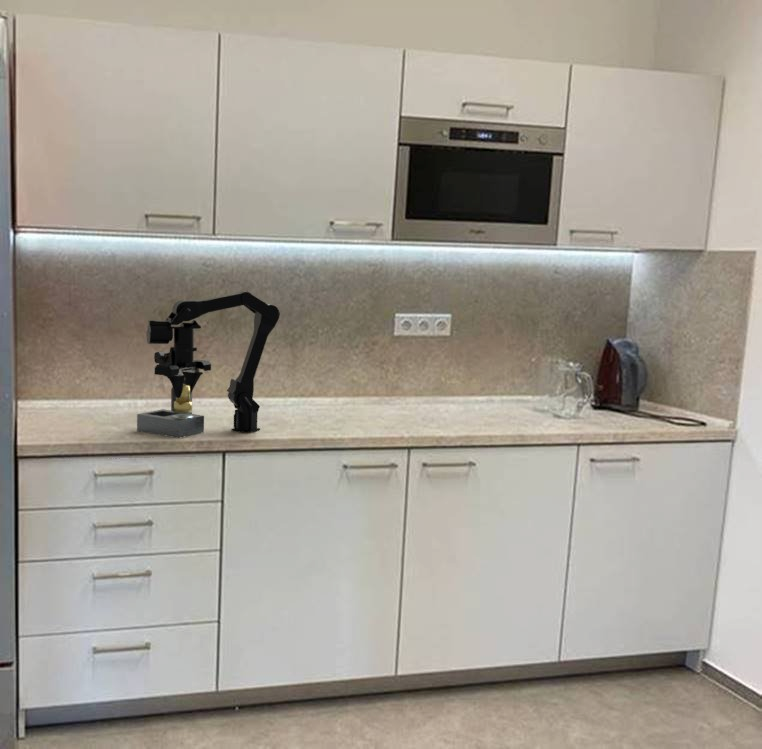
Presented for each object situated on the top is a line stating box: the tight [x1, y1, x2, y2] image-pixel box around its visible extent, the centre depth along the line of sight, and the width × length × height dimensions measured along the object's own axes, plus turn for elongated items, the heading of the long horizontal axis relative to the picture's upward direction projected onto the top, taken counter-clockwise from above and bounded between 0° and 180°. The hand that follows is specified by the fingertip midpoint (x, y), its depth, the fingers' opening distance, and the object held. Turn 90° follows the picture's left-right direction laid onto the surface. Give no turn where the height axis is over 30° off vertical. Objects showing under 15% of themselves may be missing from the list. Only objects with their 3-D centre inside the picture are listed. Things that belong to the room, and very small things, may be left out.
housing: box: [136, 408, 205, 439], centre depth 257 cm, size 16×11×5 cm
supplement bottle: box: [170, 379, 193, 414], centre depth 284 cm, size 7×7×12 cm
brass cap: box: [174, 384, 193, 414], centre depth 254 cm, size 5×5×8 cm
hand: (183, 396), depth 254 cm, fingers closed on brass cap, 4 cm apart
